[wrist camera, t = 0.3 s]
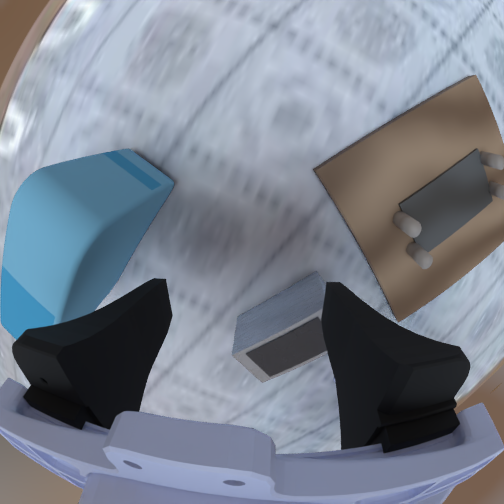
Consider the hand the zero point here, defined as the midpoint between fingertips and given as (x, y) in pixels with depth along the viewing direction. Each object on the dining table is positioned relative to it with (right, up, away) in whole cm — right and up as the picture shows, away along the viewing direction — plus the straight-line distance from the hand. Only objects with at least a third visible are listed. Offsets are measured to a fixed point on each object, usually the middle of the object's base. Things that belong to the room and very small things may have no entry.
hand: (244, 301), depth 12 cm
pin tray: (+17, +7, +7) cm, 19 cm away
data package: (-10, +5, +9) cm, 14 cm away
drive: (+3, -3, +12) cm, 12 cm away
